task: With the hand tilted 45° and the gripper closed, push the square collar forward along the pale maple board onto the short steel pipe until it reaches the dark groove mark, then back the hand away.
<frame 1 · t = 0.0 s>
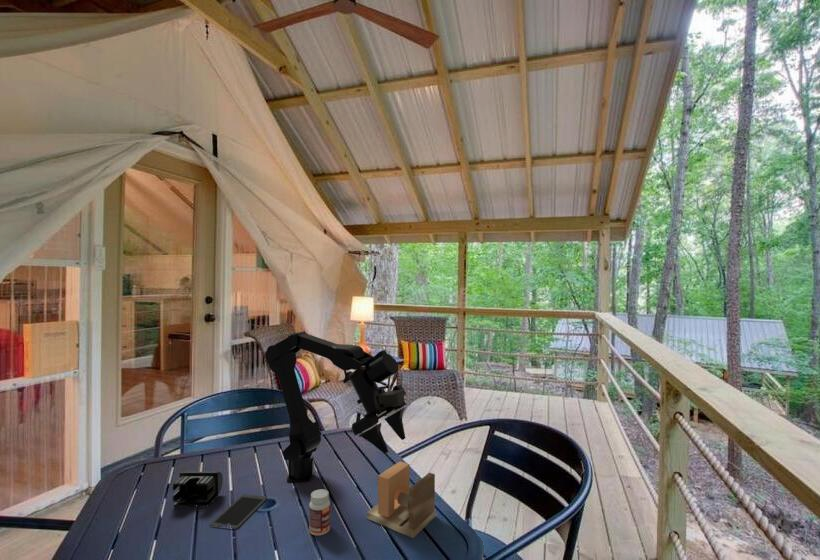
hand: (395, 445, 105), 15 cm above the table, tool tilted 35°, fingers open, 9 cm apart
pipe board: (389, 512, 101), on the table
pill bottle: (319, 530, 94), on the table
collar: (394, 488, 100), point 6 cm above the table, slide at 0.0 cm
cell phone: (240, 513, 101), on the table
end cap: (198, 500, 107), on the table
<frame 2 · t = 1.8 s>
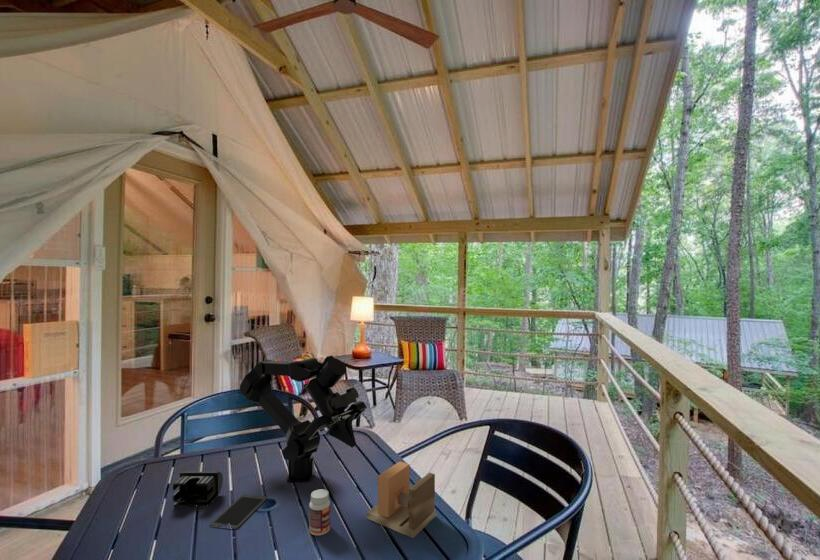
hand: (354, 446, 107), 14 cm above the table, tool tilted 45°, fingers closed
nothing on the table moved.
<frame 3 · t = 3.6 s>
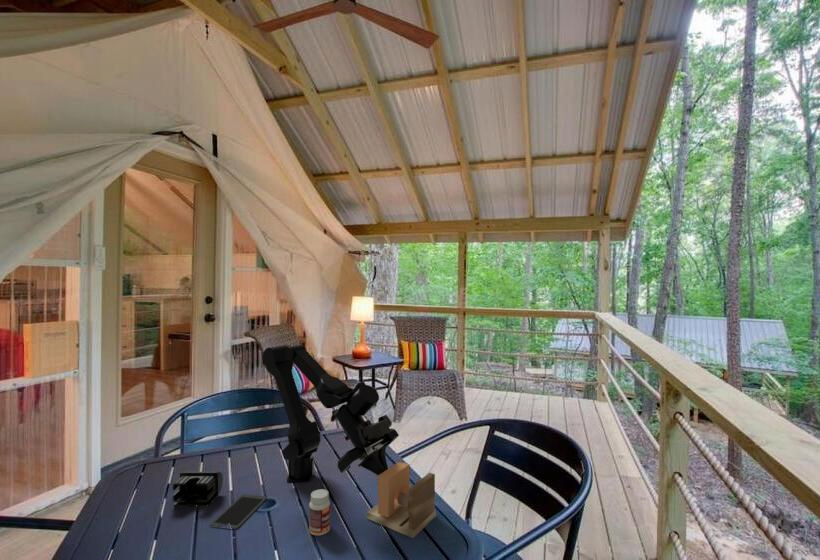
hand: (388, 479, 101), 8 cm above the table, tool tilted 45°, fingers closed, pressing on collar
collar: (394, 488, 100), point 6 cm above the table, slide at 0.0 cm, touching gripper
everything else where it was.
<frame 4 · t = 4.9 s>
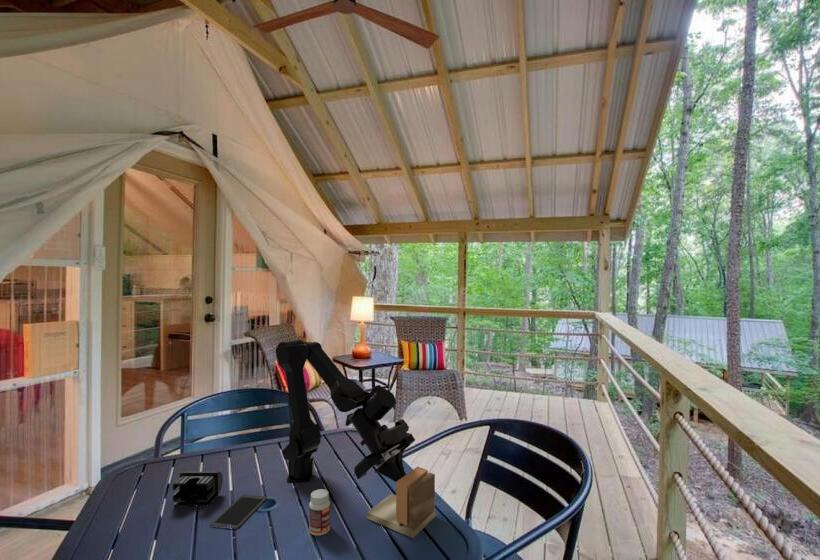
hand: (406, 485, 98), 8 cm above the table, tool tilted 45°, fingers closed
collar: (412, 494, 97), point 6 cm above the table, slide at 5.3 cm
everything else where it was.
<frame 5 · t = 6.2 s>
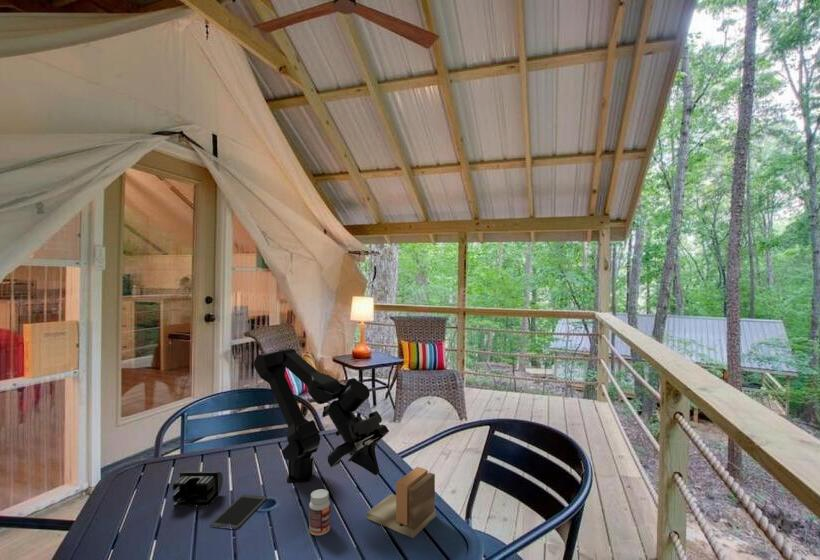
hand: (377, 474, 103), 9 cm above the table, tool tilted 45°, fingers closed
nothing on the table moved.
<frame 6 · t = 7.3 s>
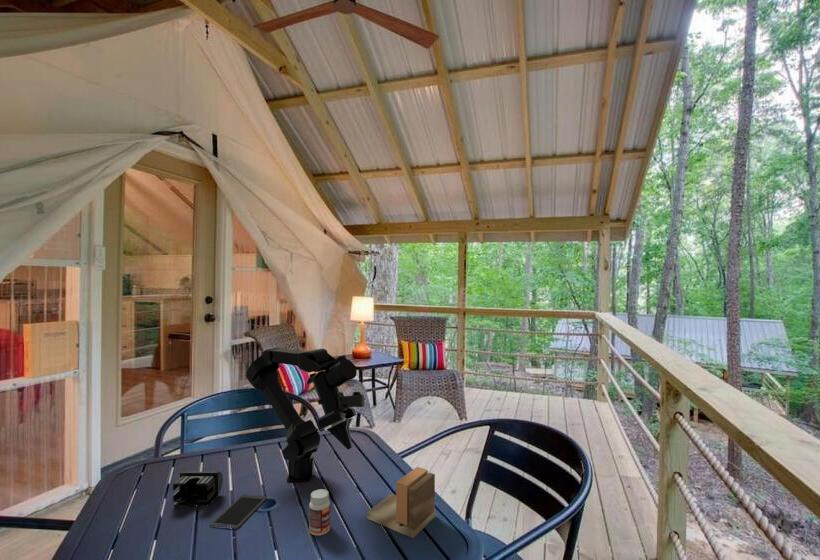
hand: (349, 448, 108), 13 cm above the table, tool tilted 30°, fingers closed
nothing on the table moved.
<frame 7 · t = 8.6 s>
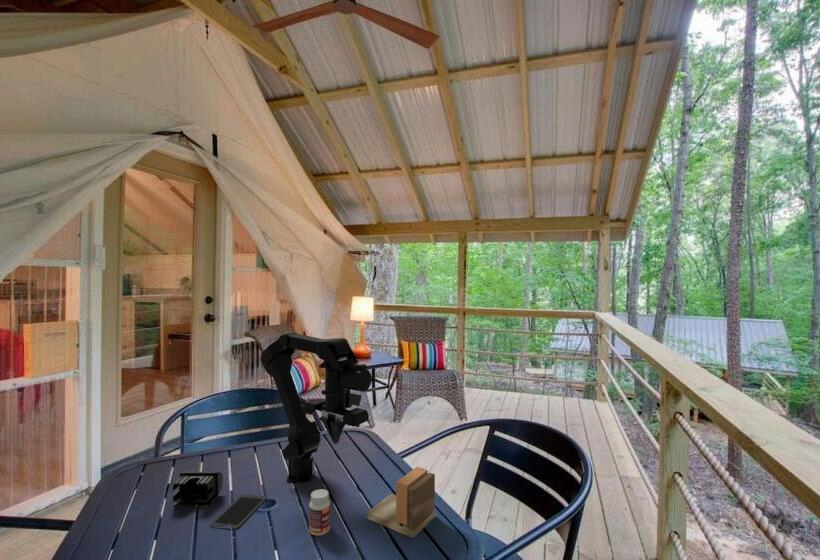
hand: (335, 443, 111), 13 cm above the table, tool pointing down, fingers closed
nothing on the table moved.
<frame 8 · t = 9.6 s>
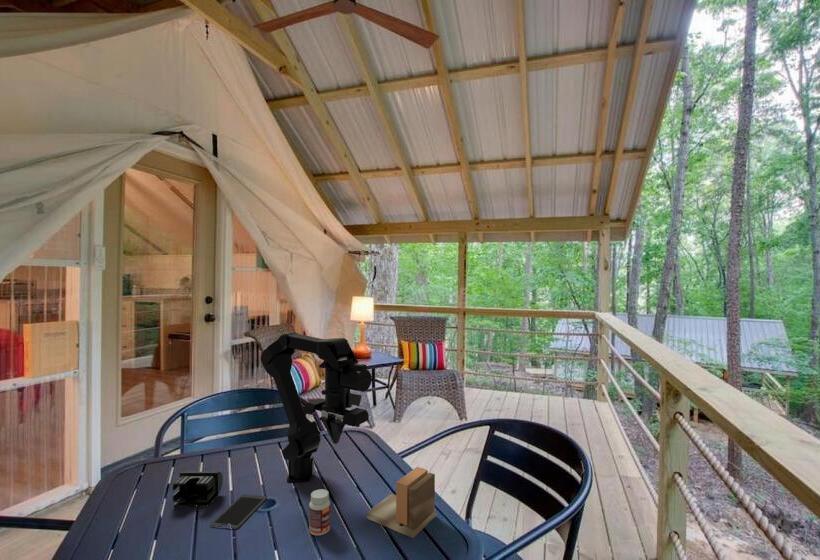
hand: (335, 443, 111), 13 cm above the table, tool pointing down, fingers closed
nothing on the table moved.
at the end: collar slide at 5.3 cm; pill bottle moved 0.2 cm from its start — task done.
